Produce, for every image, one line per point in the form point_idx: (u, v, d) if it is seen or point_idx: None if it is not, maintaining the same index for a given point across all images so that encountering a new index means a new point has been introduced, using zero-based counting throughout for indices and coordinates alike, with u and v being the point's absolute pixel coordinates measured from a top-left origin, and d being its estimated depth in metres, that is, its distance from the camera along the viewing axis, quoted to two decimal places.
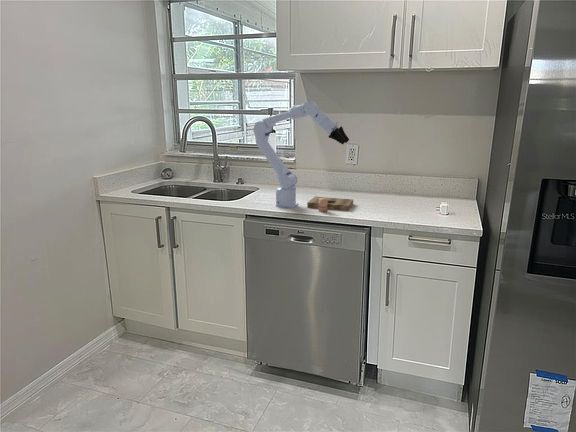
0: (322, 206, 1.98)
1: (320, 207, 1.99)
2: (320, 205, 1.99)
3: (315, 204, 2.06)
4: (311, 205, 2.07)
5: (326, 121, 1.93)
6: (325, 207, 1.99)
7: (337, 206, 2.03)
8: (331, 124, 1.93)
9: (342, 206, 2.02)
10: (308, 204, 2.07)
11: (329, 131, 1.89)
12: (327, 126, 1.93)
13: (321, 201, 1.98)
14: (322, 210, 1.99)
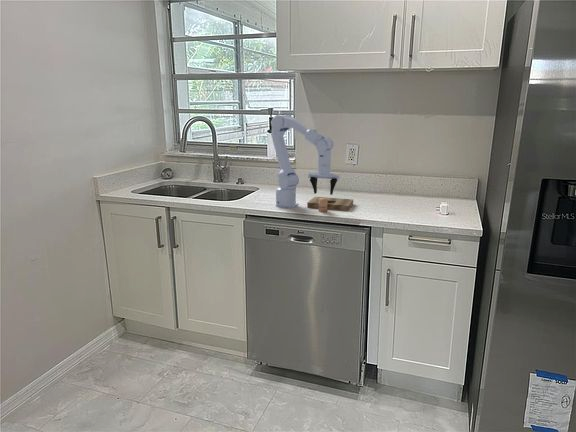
0: (322, 206, 1.98)
1: (320, 207, 1.99)
2: (320, 205, 1.99)
3: (315, 204, 2.06)
4: (311, 205, 2.07)
5: (318, 166, 1.95)
6: (325, 207, 1.99)
7: (337, 206, 2.03)
8: (318, 172, 1.95)
9: (342, 206, 2.02)
10: (308, 204, 2.07)
11: None
12: None
13: (321, 201, 1.98)
14: (322, 210, 1.99)
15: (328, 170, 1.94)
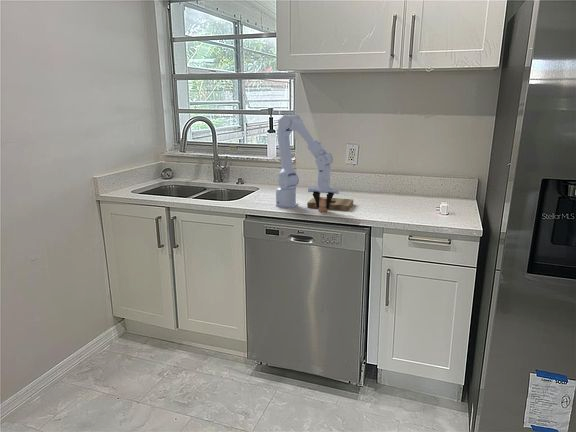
0: (322, 206, 1.98)
1: (320, 207, 1.99)
2: (320, 205, 1.99)
3: (315, 204, 2.06)
4: (311, 205, 2.07)
5: None
6: (325, 207, 1.99)
7: (337, 206, 2.03)
8: (317, 187, 1.97)
9: (342, 206, 2.02)
10: (308, 204, 2.07)
11: None
12: None
13: (321, 201, 1.98)
14: (322, 210, 1.99)
15: (328, 185, 1.95)
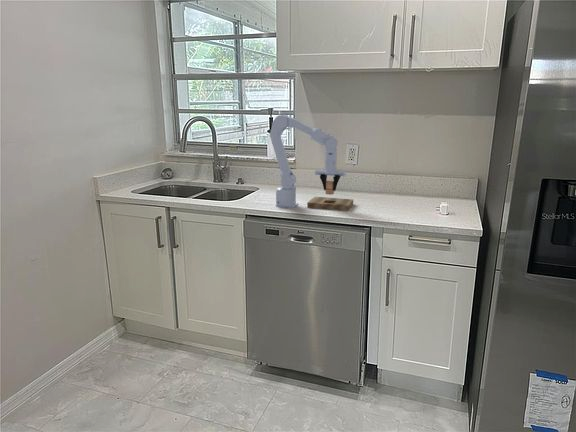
0: (329, 188, 2.04)
1: (327, 189, 2.05)
2: (327, 187, 2.05)
3: (315, 204, 2.06)
4: (311, 205, 2.07)
5: None
6: (332, 189, 2.05)
7: (337, 206, 2.03)
8: (324, 169, 2.03)
9: (342, 206, 2.02)
10: (308, 204, 2.07)
11: None
12: None
13: (328, 183, 2.04)
14: (329, 192, 2.05)
15: (334, 167, 2.01)
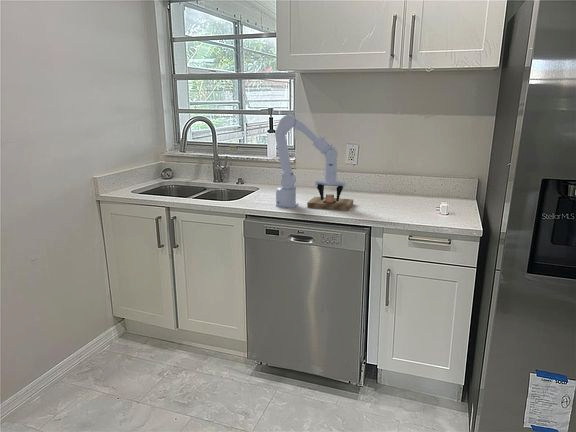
0: (329, 202, 2.07)
1: None
2: (327, 201, 2.07)
3: (315, 204, 2.06)
4: (311, 205, 2.07)
5: None
6: None
7: (337, 206, 2.03)
8: (325, 180, 2.05)
9: (342, 206, 2.02)
10: (308, 204, 2.07)
11: None
12: None
13: (328, 197, 2.06)
14: None
15: (334, 178, 2.03)
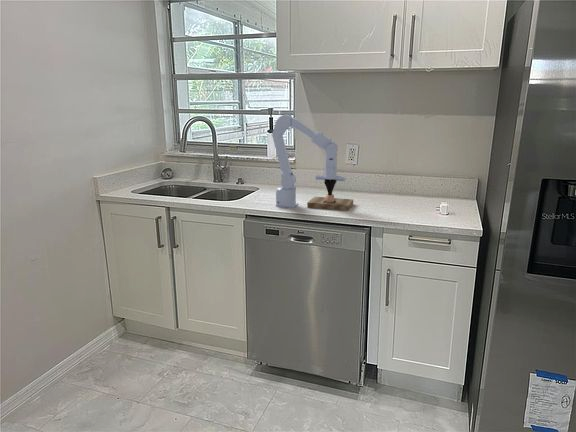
0: (329, 202, 2.07)
1: None
2: (327, 201, 2.07)
3: (315, 204, 2.06)
4: (311, 205, 2.07)
5: (325, 169, 2.04)
6: None
7: (337, 206, 2.03)
8: (325, 174, 2.04)
9: (342, 206, 2.02)
10: (308, 204, 2.07)
11: None
12: None
13: (328, 197, 2.06)
14: None
15: (335, 172, 2.03)
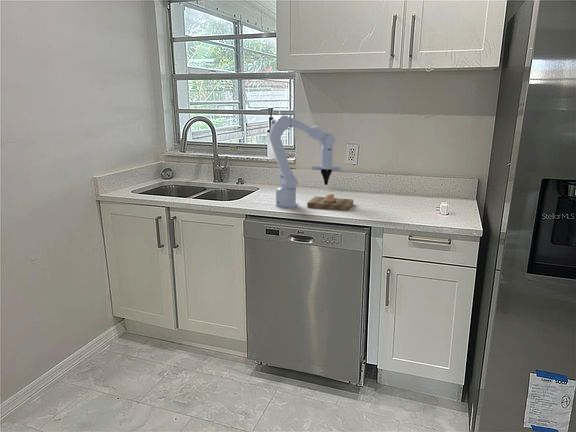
0: (329, 202, 2.07)
1: None
2: (327, 201, 2.07)
3: (315, 204, 2.06)
4: (311, 205, 2.07)
5: (321, 159, 2.11)
6: None
7: (337, 206, 2.03)
8: (321, 164, 2.11)
9: (342, 206, 2.02)
10: (308, 204, 2.07)
11: (312, 168, 2.15)
12: None
13: (328, 197, 2.06)
14: None
15: (331, 162, 2.11)
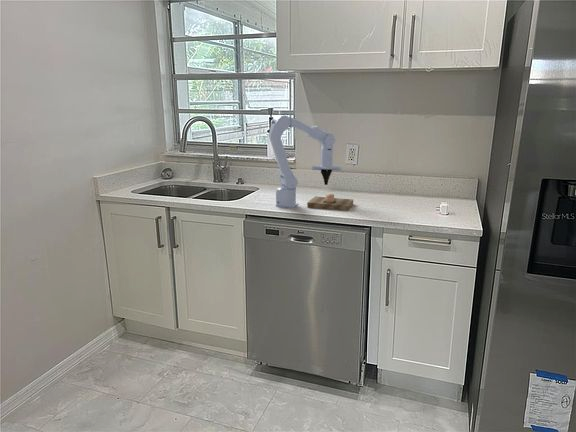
0: (329, 202, 2.07)
1: None
2: (327, 201, 2.07)
3: (315, 204, 2.06)
4: (311, 205, 2.07)
5: (321, 159, 2.11)
6: None
7: (337, 206, 2.03)
8: (321, 164, 2.11)
9: (342, 206, 2.02)
10: (308, 204, 2.07)
11: (312, 168, 2.15)
12: None
13: (328, 197, 2.06)
14: None
15: (331, 162, 2.11)
